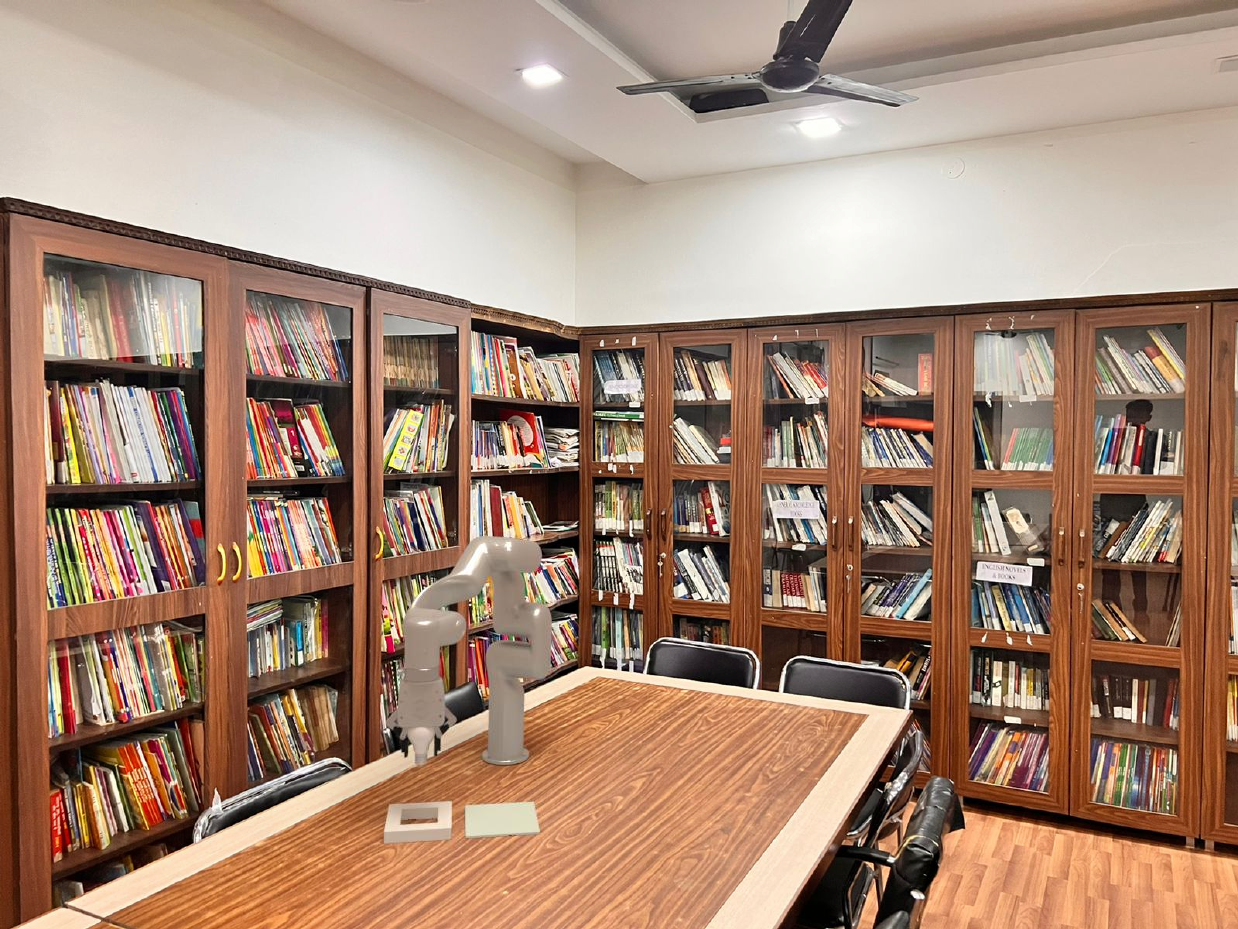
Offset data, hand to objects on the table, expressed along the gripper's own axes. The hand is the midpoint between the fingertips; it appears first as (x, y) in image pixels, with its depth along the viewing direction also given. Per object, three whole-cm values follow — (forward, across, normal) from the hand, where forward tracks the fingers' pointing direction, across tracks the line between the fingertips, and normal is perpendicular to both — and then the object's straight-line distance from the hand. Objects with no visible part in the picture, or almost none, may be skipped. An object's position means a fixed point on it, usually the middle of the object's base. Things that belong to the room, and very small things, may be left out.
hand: (421, 754), depth 190 cm
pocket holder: (+16, 0, 0) cm, 16 cm away
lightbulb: (+3, 0, 0) cm, 3 cm away
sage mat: (+16, +18, +1) cm, 24 cm away
